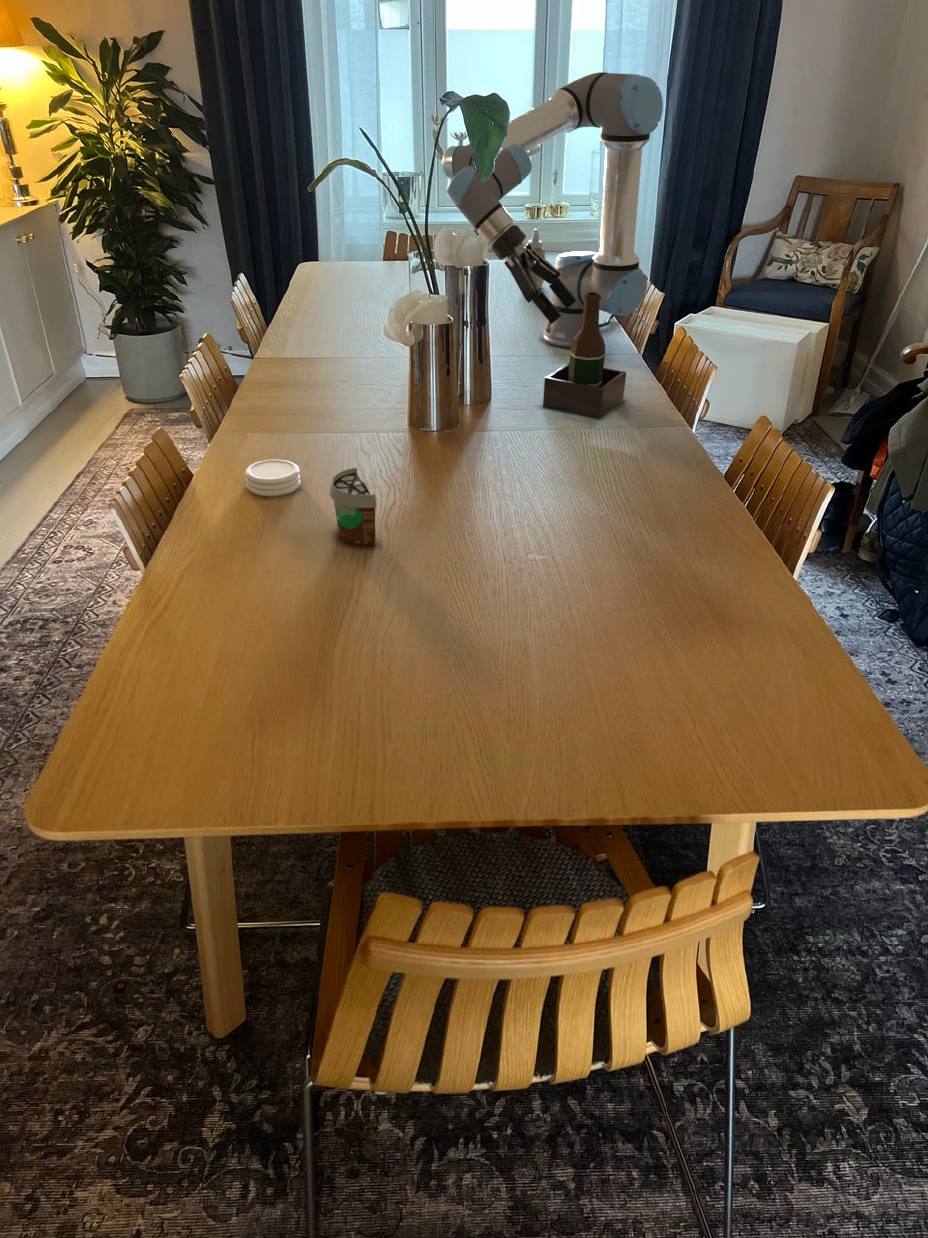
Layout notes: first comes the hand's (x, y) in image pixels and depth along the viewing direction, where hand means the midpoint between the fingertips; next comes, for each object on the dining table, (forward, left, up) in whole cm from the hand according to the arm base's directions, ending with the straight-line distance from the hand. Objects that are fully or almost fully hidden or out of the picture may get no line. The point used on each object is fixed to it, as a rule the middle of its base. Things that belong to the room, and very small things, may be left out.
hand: (564, 312), depth 212 cm
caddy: (-1, +6, -20) cm, 21 cm away
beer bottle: (-1, +6, -19) cm, 20 cm away
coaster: (+72, -25, -20) cm, 79 cm away
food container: (+81, -1, -20) cm, 84 cm away
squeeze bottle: (-93, -52, -20) cm, 109 cm away
